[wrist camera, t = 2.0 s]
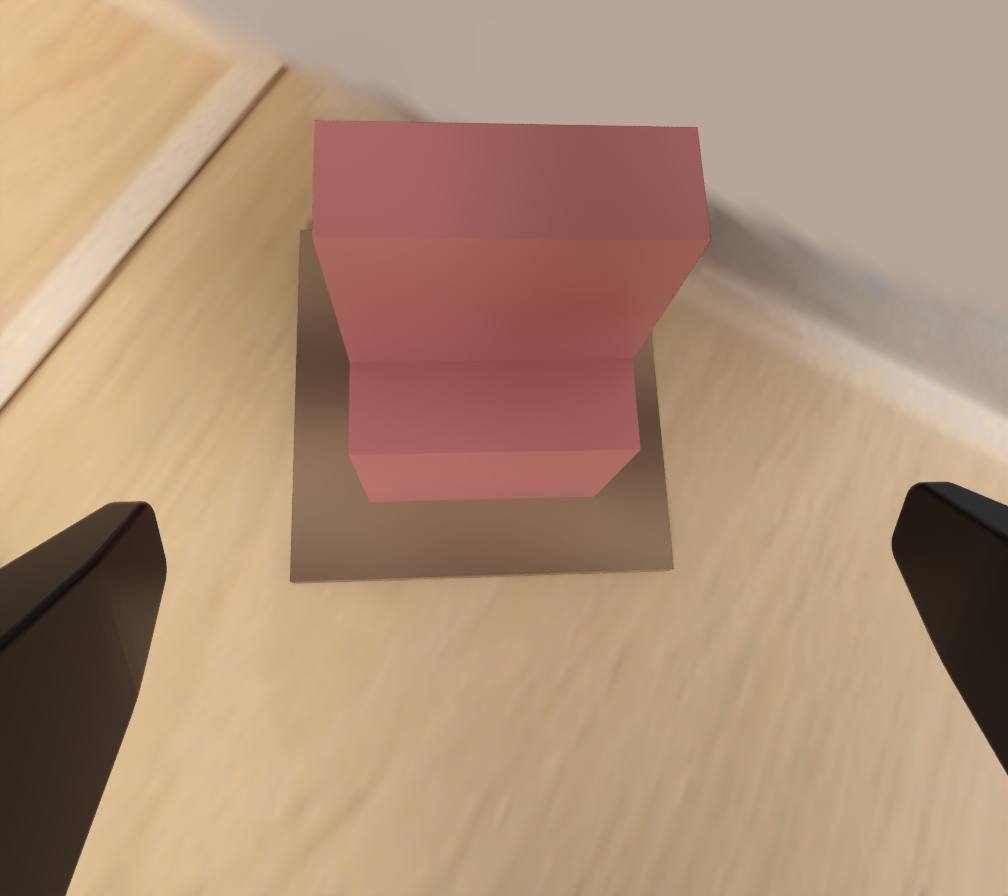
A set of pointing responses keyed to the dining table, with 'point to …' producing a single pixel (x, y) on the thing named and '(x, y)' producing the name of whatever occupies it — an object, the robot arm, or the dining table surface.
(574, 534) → the stake stand
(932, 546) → the robot arm
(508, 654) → the dining table surface
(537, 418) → the red stepped block
